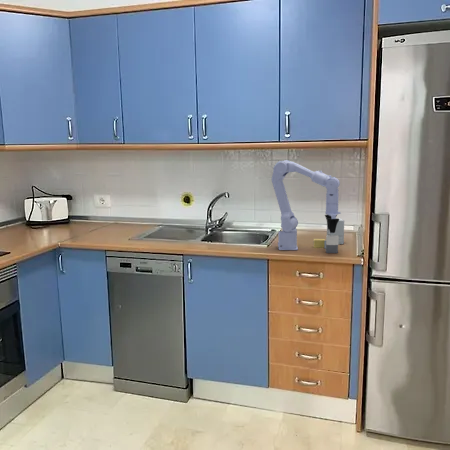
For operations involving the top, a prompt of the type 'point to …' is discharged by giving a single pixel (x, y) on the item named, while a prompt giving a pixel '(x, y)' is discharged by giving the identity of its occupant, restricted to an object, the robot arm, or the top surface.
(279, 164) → the robot arm
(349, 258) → the top surface
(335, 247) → the charcoal brick
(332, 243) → the light grey brick
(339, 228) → the supplement box
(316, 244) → the mustard brick
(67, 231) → the top surface
